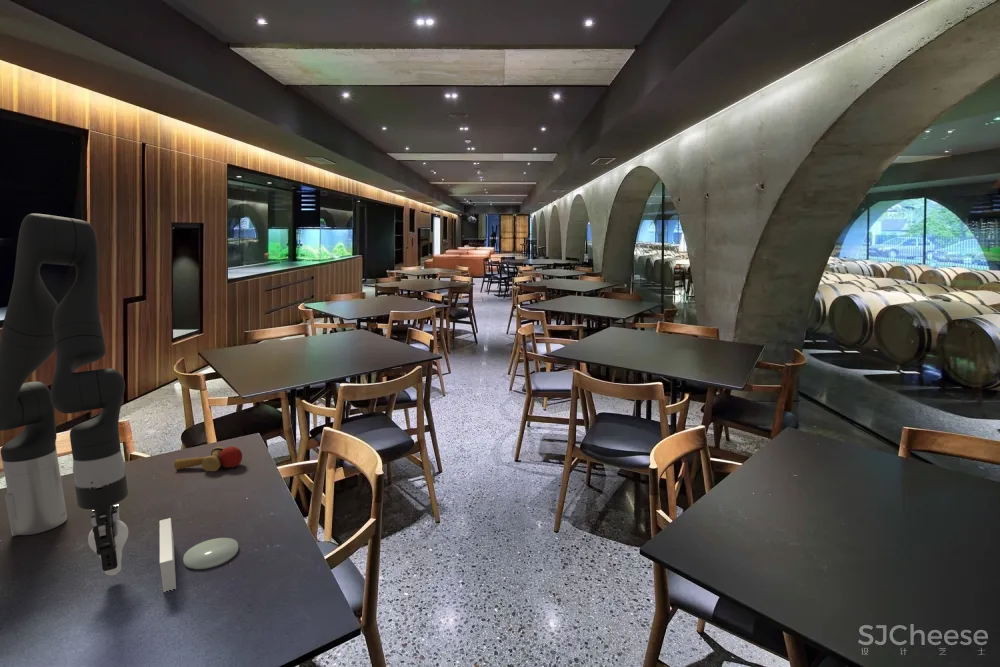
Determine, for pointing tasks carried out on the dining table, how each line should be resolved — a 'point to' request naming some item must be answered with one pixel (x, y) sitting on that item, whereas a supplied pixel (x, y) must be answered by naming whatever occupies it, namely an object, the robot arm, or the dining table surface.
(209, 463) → the kendama
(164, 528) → the wall
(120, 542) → the lightbulb
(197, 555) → the pad
